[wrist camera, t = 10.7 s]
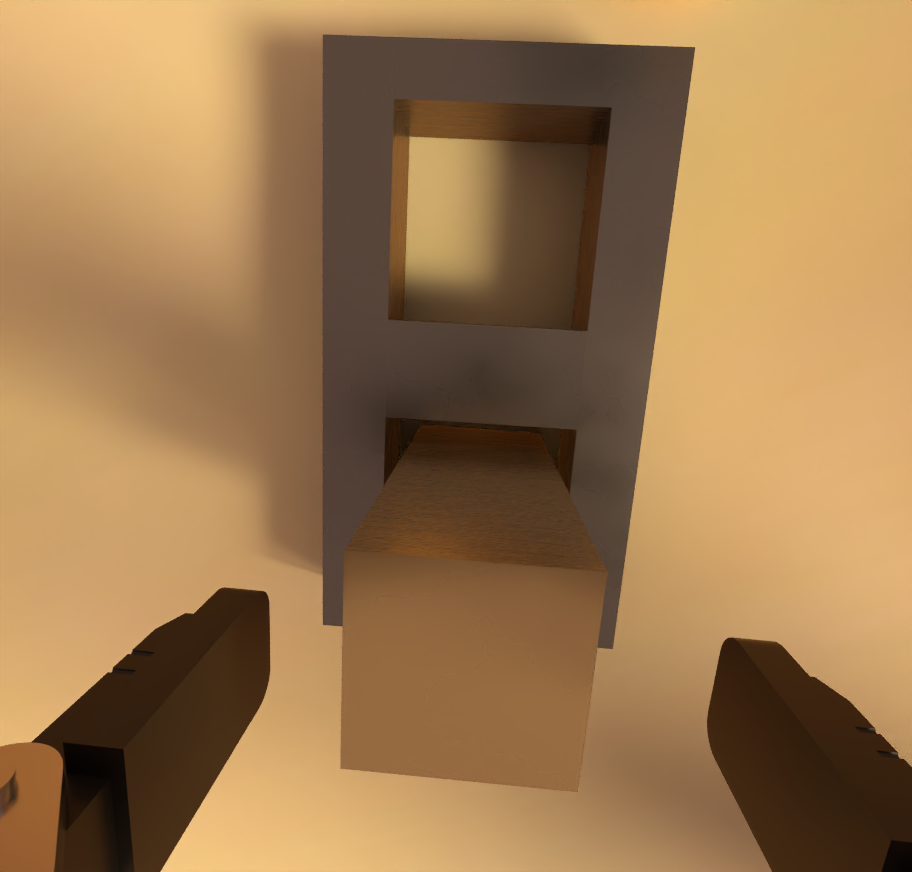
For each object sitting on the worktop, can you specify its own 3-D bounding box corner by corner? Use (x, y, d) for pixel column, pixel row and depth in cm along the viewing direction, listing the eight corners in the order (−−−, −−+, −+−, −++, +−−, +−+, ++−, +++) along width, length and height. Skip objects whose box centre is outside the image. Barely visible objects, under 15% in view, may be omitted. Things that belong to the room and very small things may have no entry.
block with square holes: (658, 95, 17) (695, 47, 14) (594, 602, 21) (612, 648, 18) (350, 83, 17) (322, 34, 14) (345, 582, 21) (322, 624, 18)
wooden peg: (539, 432, 19) (607, 572, 9) (528, 542, 20) (577, 791, 10) (421, 423, 19) (344, 550, 9) (416, 533, 20) (340, 768, 10)
